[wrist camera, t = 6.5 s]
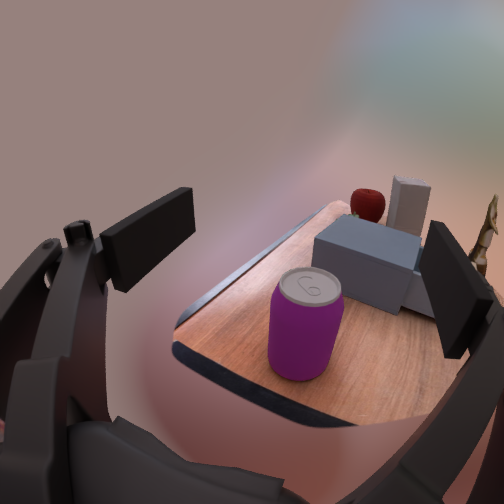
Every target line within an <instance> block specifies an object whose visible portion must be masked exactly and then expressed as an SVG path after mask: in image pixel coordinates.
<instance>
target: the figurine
mask: <svg viewBox="0 0 504 504" xmlns="http://www.w3.org/2000/svg"><path fill="white" fill-rule="evenodd" d="M497 201H498V195H497V194H495V195H494V198H493V200H492V202H491V203H490V204H489V207H488V211H487V216H486V219H485V222H484V225H483V226H482V229H481V231H480V234H479V237H478V240H477V242H476V244H475V246H474V248H473V249H471V251H470V253H469V256H468V258H469V259H470V261H471V262H474V263H476V267H477V271H479V272H480V273H481V274H482V275H483V276H484V277H485V274H486V268H487V259H486V255H485V254H486V251H487V249H488V247H489V246H490V243H491V240H492V236H493V233H494V231H495V233H496V234H497V235H498V230H497V227H496V218H497Z"/></svg>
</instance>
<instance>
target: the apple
mask: <svg viewBox="0 0 504 504" xmlns="http://www.w3.org/2000/svg"><path fill="white" fill-rule="evenodd" d="M350 202H351V203H350V206H351V213H352V214H354V212H356V214H357V215H359V218H360V219H363V220H367V221H370V222H373V223H377V222H378V221H379V220H380V219H381V217H382V215H383V213H384V210H385V198H384V196H383V195H382V194H381V193H380V192H378V191H375V190H371V189H357V190H356V191H354V192H353V194H352V196H351V201H350Z"/></svg>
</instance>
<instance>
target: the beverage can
mask: <svg viewBox="0 0 504 504" xmlns="http://www.w3.org/2000/svg"><path fill="white" fill-rule="evenodd" d="M343 311H344V301H343V296H342V291H341V284H340V282H339V280H338V279H337V278H336V277H335V276H334V275H333V274H331V273H329V272H327V271H325V270H323V269H319V268H315V267H298V268H294V269H291V270H289V271H287V272H285V273H284V274H283V275H282V277H281V278H280V281H279V283H278V284H277V286H276V288H275V290H274V292H273V294H272V298H271V305H270V323H269V340H268V359H269V363H270V365H271V367H272V368H273V370H274V371H275V372H276V373H278V374H279V375H280V376H282V377H284V378H287V379H290V380H297V381H304V380H309V379H312V378H314V377H317V376H319V375H320V374H321V373H322V372H323V371H324V370H325V368H326V366H327V364H328V362H329V359H330V356H331V353H332V350H333V347H334V343H335V340H336V336H337V333H338V329H339V326H340V322H341V319H342V315H343Z"/></svg>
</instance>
